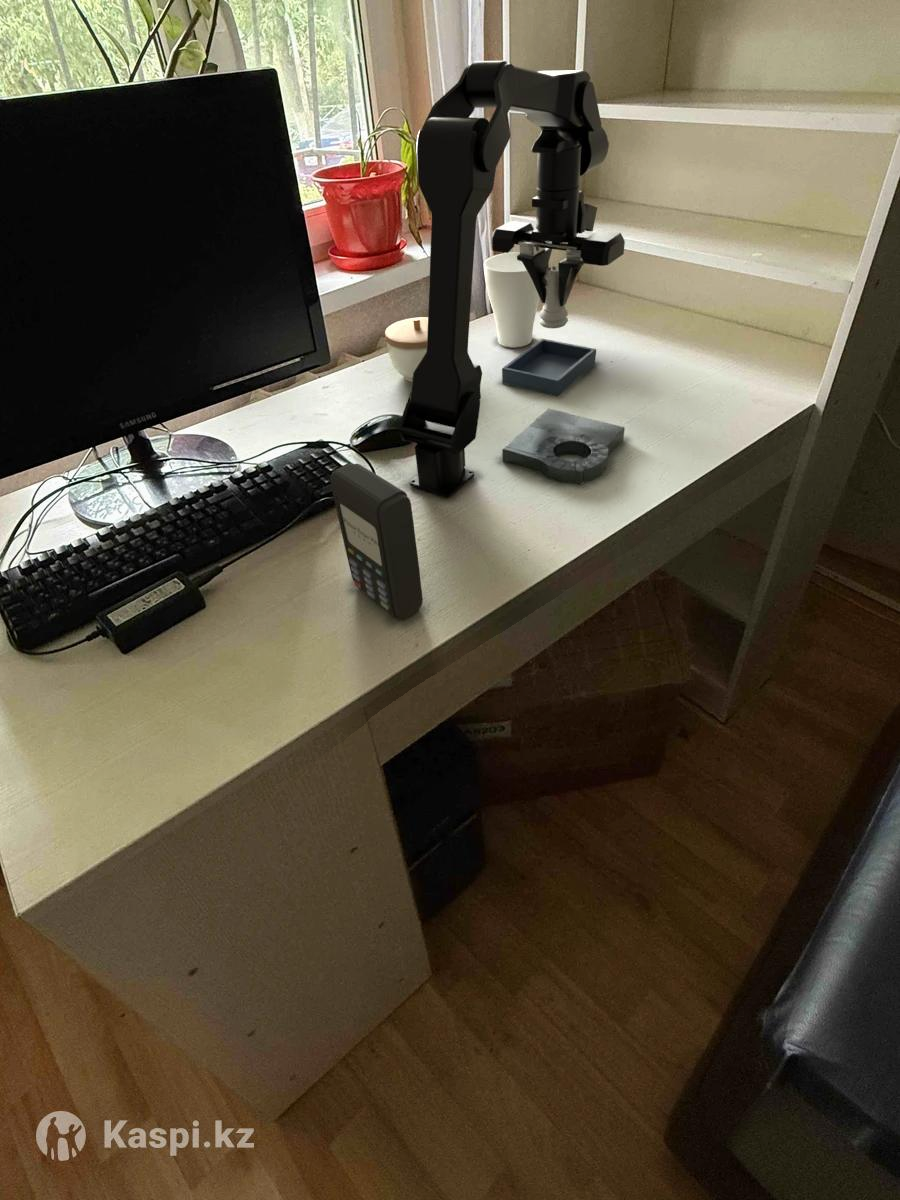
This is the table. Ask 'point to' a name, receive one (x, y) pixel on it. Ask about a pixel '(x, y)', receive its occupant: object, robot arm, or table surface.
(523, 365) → the tray
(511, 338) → the cup
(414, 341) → the trinket box
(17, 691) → the table surface
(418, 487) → the robot arm
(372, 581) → the card reader
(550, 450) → the drain plate
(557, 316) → the rook chess piece
